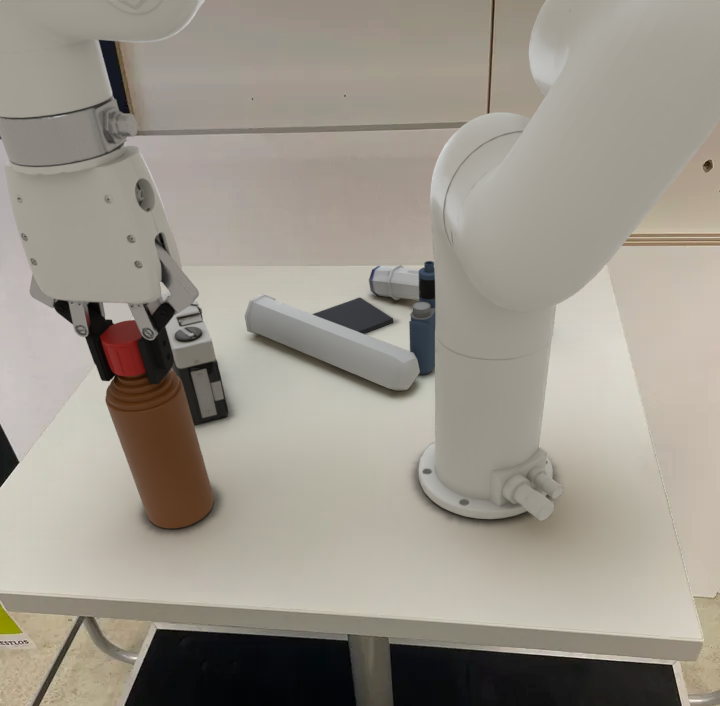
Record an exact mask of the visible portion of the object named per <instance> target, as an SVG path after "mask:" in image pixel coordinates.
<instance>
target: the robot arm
mask: <svg viewBox="0 0 720 706" xmlns="http://www.w3.org/2000/svg"><path fill="white" fill-rule="evenodd" d="M205 1H206V0H0V139H1V141H2V144H3V147H4V150H5V152H6V155H7V158H8V161H6V162H5V163H4V171H5V178H6V185H7V190H8V195H9V200H10V204H11V209H12V213H13V217H14V221H15V225H16V227H17V231H18V235H19V238H20V242H21V245H22V249H23V252H24V254H25V257H26V260H27V262H28V265H29V267H30V268H29V269H30V270H31V273H32V276H31V281H30V286H29V294H30V296H31V297H32V298H33V299H35V300H36V301H38V302H40V303H41V304H44V305H45V306H47V307H49V308H50V309H54V310H55V312H56V313H57V314H58V315H59V316H61V317H62V318H64V319H65V320H66V321H68V322H69V323H70V324H71V325H72V327H73V330H74V333H76V335H77V336H79V337H81V338H85V341H86V344H87V346H88V350H89V353H90V355H91V357H92V361H93V364H94V365H95V367H96V370H97V372H98V375H99V378H100V380H101V381H102V382H111V381H112V380H113V379H114V377H115V375H116V374H115V373H113V372H112V370H111V368H110V367H109V364H108V361H107V358H106V355H105V353H104V350H103V347H102V344H101V343H102V342H101V339H100V336H101V335H102V334H103V333H104V332H105V331H106V330H107V329H108V328H109V327H110V326H111V325H113V324H115V323H114V322H113V319H110V318H109V319H108V318H107V319H106V313H105V312H106V311H105V306H104V303H105V304H106V303H107V304H109V303H110V304H126V305H127V306H128V308H129V310H130V313H131V314H132V315H131V316H132V318H133V320H135V321H136V324H137V326H138V328H139V330H140V333H141V335H142V337H141V338H140V339H139V340H138V348H139V351H140V354H141V357H142V361H143V364H144V367H145V370H146V374H147V377H148V380H149V382H151V384H160V382H161V381H162V380H163V378H164V377H165V376H166V375H167V373H168V372H169V371H170V369H171V368H172V366H173V363H174V357H173V353H172V349H171V345H170V342H169V338H168V334H167V331H166V327H165V326H166V325H167V324H168V323H169V321H170V320H171V319H172V317H173V316H174V315H176V314H177V313H179V312H181V311H182V310H184V309H185V308H187V307H188V306H190V305H191V304H192V303H193V302H194V301H196V300H197V298H198V297H199V295H200V292H199V290H198V288H197V287H196V285H194V283H193V282H192V280H190V278H189V277H188V276H187V275H186V274H185V272H184V271H183V268H182V261H181V257H180V252H179V249H178V246H177V242H176V239H175V235H174V232H173V230H172V226H171V223H170V220H169V217H168V214H167V211H166V207H165V205H164V203H163V200H162V196H161V194H160V192H159V189H158V187H157V184H156V182H155V180H154V177H153V175H152V173H151V170H150V168H149V166H148V165H147V162H146V160H145V158H144V156H143V154H142V152H141V150H140V149H139V147H138V146H135V145H127V141H128V140H127V138H128V137H130V138H132V137H134V138H135V137H136V136H137V134H138V131H139V126H138V125H139V124H138V121H137V119H136V116H135V115H134V114H133V113H124V112H122V111H120V109H119V105H118V100H117V98H114V94H113V89H112V86H111V82H110V79H109V75H108V71H107V67H106V62H105V59H104V57H103V52H102V47H101V44H100V41H108V42H109V41H111V42H123V43H153V42H159V41H160V42H161V41H165V40H166V39H169V38H172V37H174V36H175V35H177V34H178V33H180V32H181V31H183V30H184V29H185V28H186V27H187V26H188V25H189V24H190V23H191V21H192V20H193V19H194V17H195V16H196V14H197V13H198V11H199V9H200V8H201V7H202V5H203V4H204V3H205ZM529 37H530V38H529V43H528V62H529V69H530V73H531V76H532V78H533V81H534V83H535V84H536V86H537V88H538V89H539V91H540V92H541V94H542V96H543V97H544V98H543V99H542V101H541V103H540V104H539V106H538V108H537V109H536V111H535V112H534V113H533V116H532V117H531V118H530V117H527V116H525V115H521V114H518V113H514V112H505V111H499V112H490V113H486V114H483V115H482V114H481V115H480V116H477V117H475V118H472V119H470V120H469V121H468V122H465V124H463V125H462V126H460V127H459V128H458V129H457V130H456V131H455V132H454V133H453V134H452V135H451V137H449V139H448V140H447V142H445V144H444V146H443V147H442V150H441V151H440V153H439V155H438V157H437V160H436V162H435V166H434V168H433V172H432V176H431V181H430V182H431V183H430V191H429V192H430V193H429V196H430V197H429V199H430V200H429V208H430V209H429V210H430V211H429V212H430V227H431V239H432V252H433V254H432V255H433V262H434V270H435V366H434V442H432V443H431V444H429V446H427V448H426V449H425V450H424V451H423V452H422V455H421V456H420V458H419V463H418V480H419V484H420V487H421V489H422V490H423V492H424V494H426V496H427V497H428V498H429V499H430V500H431V501H432V502H434V503H435V504H436V505H438V506H439V508H442V509H444V510H447V511H449V512H451V513H454V514H456V515H460V516H462V517H467V518H471V519H472V518H473V519H479V520H480V519H481V520H497V519H506V518H511V517H515V516H518V515H521V514H524V513H526V512H527V513H529V514H530V515H531V516H533V517H534V518H536V520H538V521H539V522H542V521H546V520H547V519H548V518H550V516H551V515H552V514H553V512H554V510H555V508H556V505H555V503H554V502H553V501H552V500H550V499H549V498H548V497H547V496H549V497H550V498H552V499H553V500H556V499H558V498H559V497H561V495H562V494H563V493H564V490H565V489H564V486H563V485H562V484H561V483H560V482H558V481H556V480H555V479H553V476H554V469H553V464H552V462H551V459H550V458H549V456H548V452H547V451H546V450H543V449H542V448H541V447H540V443H541V442H540V441H541V433H542V425H543V416H544V410H545V409H544V408H545V399H546V391H547V383H548V382H547V381H548V373H549V365H550V357H551V349H552V342H553V336H554V329H555V320H556V310H557V305H559V304H561V303H563V302H565V301H567V300H568V299H570V298H571V297H573V296H574V295H576V294H577V293H578V292H580V291H581V290H583V289H584V288H585V287H586V286H587V285H588V284H589V283H590V282H591V281H592V280H593V279H595V278H596V276H597V275H598V274H600V272H601V271H602V270H603V269H604V268H605V267H606V265H608V263H609V262H610V261H611V260H612V258H613V257H614V256H615V255H616V254H617V252H618V251H619V250H620V249H621V247H623V245H624V244H625V243H626V241H627V240H628V239H629V237H631V235H632V234H633V233H634V231H635V230H636V229H637V228H638V226H640V224H641V223H642V222H643V221H644V219H645V218H646V217H647V215H648V214H649V213H650V212H651V210H652V209H653V208H654V207H655V206H656V204H657V203H658V202H659V200H660V199H661V198H662V197H663V195H664V194H665V193H666V191H667V190H668V189H669V188H670V187H671V186H672V185H673V183H674V182H675V180H676V179H677V178H678V177H679V175H680V174H681V173H682V172H683V170H684V169H685V168H686V166H687V165H688V164H689V163H690V162H691V161H692V159H693V158H694V157H695V155H696V154H697V153H698V152H699V150H700V149H701V147H702V146H703V145H704V143H705V142H706V141H707V140H708V138H709V137H710V135H711V134H712V133H713V131H714V130H715V128H716V127H717V125H719V122H720V0H545V1H544V3H543V4H542V6H541V8H540V10H539V12H538V14H537V16H536V19H535V22H534V24H533V26H532V29H531V33H530V36H529ZM161 284H163V286H165V288H166V289H167V290H168V291H169V292H170V294H171V296H168V297H167V298H166V299H165V300H164V301H163V299H162V296H161V294H162V287H161Z"/></svg>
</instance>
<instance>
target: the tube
mask: <svg viewBox="0 0 720 706" xmlns="http://www.w3.org/2000/svg"><path fill="white" fill-rule="evenodd" d="M312 314H313V313H309V312H307V311H304V310H302V309H299V308H296V307H293V306H291V305H289V304H285V303H284V302H281V301H279V300H278V301H277V299H276V298H275V297H272V296H269V295H267V294H265V293H260V294H259V295H256V296H255V297H253V298H250V299H249V302H248V304H247V307H246V311H245V313H244V320H245V326H246V331H247V332H249V333H251V334H254V335H258V336H262V337H265V338H267V339H270V340H272V341H273V342H274V341H275V342H277V343H279V344H281V345H285V346H287V347H289V348H291V349H294V350H296V351H299V352H301V353H304V354H305V355H308V356H311V357H313V358H315V359H317V360H320V361H322V362H324V363H327V364H329V365H331V366H334V367H336V368H339V369H341V370H344V371H346V372H348V373H351V374H353V375H355V376H358V377H361V378H362V379H365V380H368V381H369V382H372V383H375V384H377V385H379V386H382V387H384V388H386V389H389V390H393V391H396V392H400V391H406V390H407V391H408V390H409V389H410V387H412V385H413V383H414V382H415V380H416V379H417V377H418V376H419V375H420V374H419V373H420V369H419V365H418V360H417V358H416V356H415V354H414V353H413V352H410V350H407V349H405V348H402V347H399V346H397V345H394V344H391V343H389V342H386V341H383V340H381V339H379V338H375V337H373V336H371V335H368V334H366V333H364V334H362V333H360V332H357V331H355V330H352V329H349V328H347V327H344V326H341V325H339V324H336V323H333V322H331V321H328V320H325V319H323V318H320V317H317V316H315V315H312Z"/></svg>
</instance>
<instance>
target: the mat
mask: <svg viewBox="0 0 720 706" xmlns="http://www.w3.org/2000/svg"><path fill="white" fill-rule="evenodd" d="M311 314H312V315H315V316H317V317H320V318H323V319H325V320H328V321H331V322H333V323H336V324H339V325H341V326H344V327H347V328H349V329H352V330H355V331H357V332H360V333H362V334H366V333H369V332H371V331H374V330H378V329H380V328H382V327H385V326H387V325H390V324H393V323H394V318H393V317H391V316H390V315H388V314H387V313H385V312H384V311H382V310H380V309H379V308H377V307H376V306H375V305H373V304H371V303H369V302H368V301H367V300H365V299H363V298H362V297H357V298H354V299H351V300H349V301H345V302H343V303H340V304H337V305H334V306H331V307H329V308H326V309H322V310H320V311H317V312H315V313H311Z"/></svg>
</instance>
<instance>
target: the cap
mask: <svg viewBox="0 0 720 706" xmlns="http://www.w3.org/2000/svg"><path fill="white" fill-rule="evenodd" d="M141 337H142V335H141V333H140V330H139V328H138V326H137V324H136V321H135V319H129V320H123V321H119V322H116V323H114V324H113V325H111V326H110V327H109V328H108V329H107V330H106V331H105V332H104V333H103V334H102V335H101V336H100V339H101V342H102V343H101V344H102V347H103V350H104V353H105V355H106V358H107V361H108V364H109V367H110V368H111V370H112V372H113V373H115V374H116V375H119V376H135V375H139V374H143V373H145V372H146V370H145V367H144V364H143V361H142V357H141V354H140V351H139V348H138V340H139V339H140V338H141Z"/></svg>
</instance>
